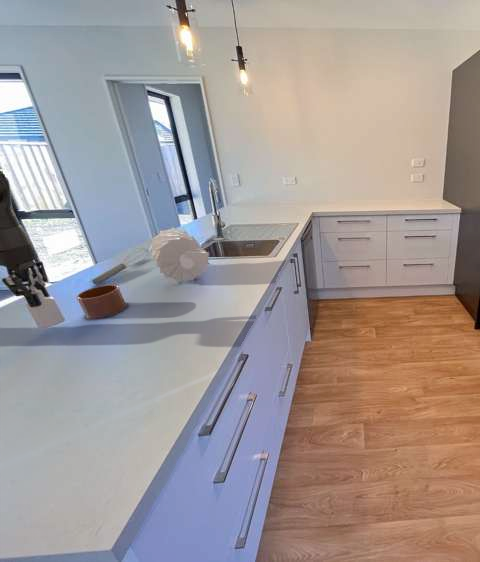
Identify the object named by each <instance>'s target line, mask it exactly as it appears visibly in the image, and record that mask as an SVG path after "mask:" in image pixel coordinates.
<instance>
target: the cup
mask: <svg viewBox="0 0 480 562" xmlns="http://www.w3.org/2000/svg"><path fill="white" fill-rule="evenodd" d="M121 292H122V291H121V290H120V287H119V285H116V284H105V285H104V284H103V285H98V286H94V287H91V288H89V289H86V290H84V291H82V292H80V293H78V294H77V295H76V299H77V302H78V304H79V305H80V308H81V309H82V312H83V313H84V315H85V317H86V318H87V319H90V320H97V319H103V318H106V317H110V316H113V315H116V314H118V313H120V312H122V311H123V310H124V309H126V307H127V303H126V301H125V299H124V296H123V295H122V293H121Z"/></svg>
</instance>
